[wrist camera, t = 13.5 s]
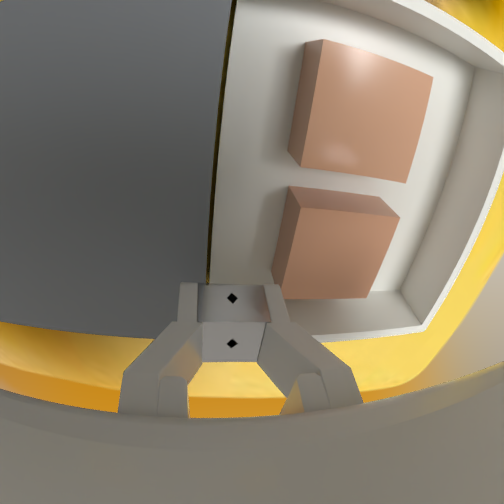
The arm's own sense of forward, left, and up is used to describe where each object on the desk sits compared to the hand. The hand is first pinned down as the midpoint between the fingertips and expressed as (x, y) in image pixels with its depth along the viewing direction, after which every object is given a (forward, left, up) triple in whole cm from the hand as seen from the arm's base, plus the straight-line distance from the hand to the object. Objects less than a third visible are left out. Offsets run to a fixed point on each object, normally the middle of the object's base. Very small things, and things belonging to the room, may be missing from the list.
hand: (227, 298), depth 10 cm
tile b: (0, +5, -3) cm, 5 cm away
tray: (-3, +6, -5) cm, 8 cm away
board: (-3, -7, -5) cm, 9 cm away
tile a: (-6, +4, -3) cm, 8 cm away
